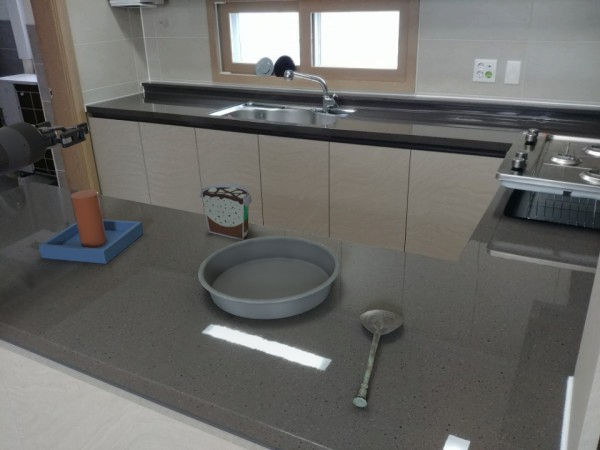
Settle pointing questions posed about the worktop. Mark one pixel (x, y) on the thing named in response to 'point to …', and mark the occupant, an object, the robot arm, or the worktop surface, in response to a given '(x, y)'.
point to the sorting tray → (70, 248)
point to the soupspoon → (375, 342)
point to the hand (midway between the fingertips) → (68, 126)
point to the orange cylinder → (89, 218)
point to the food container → (227, 209)
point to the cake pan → (269, 276)
